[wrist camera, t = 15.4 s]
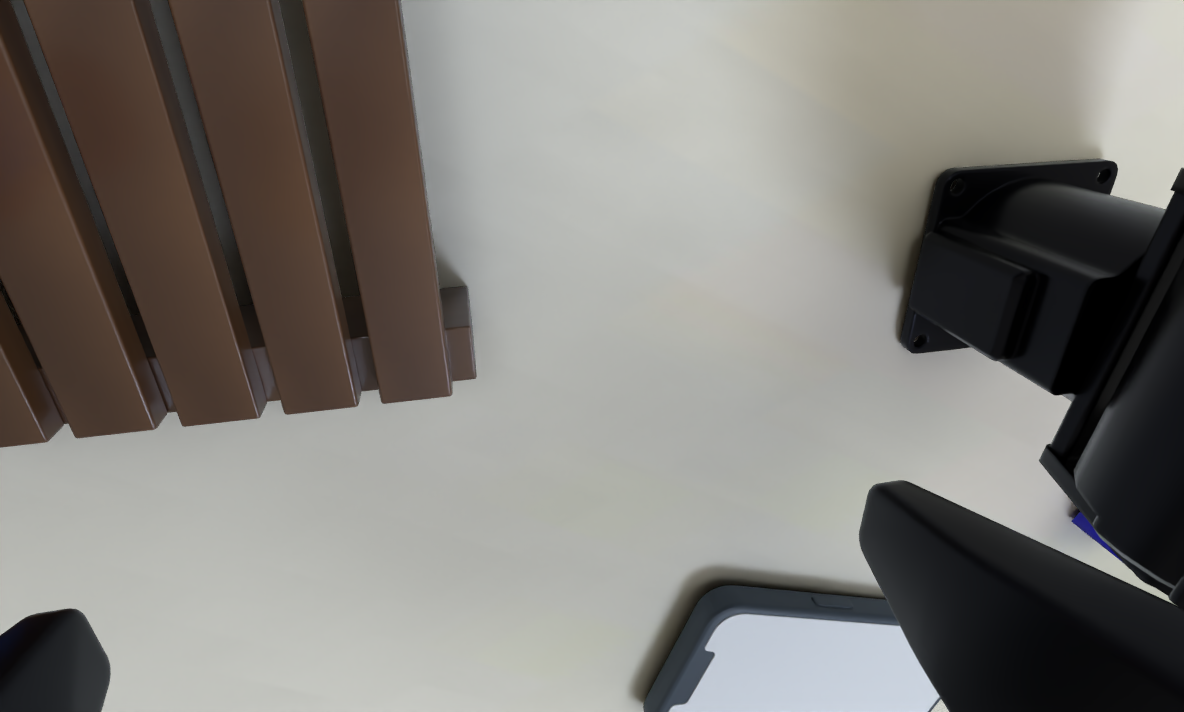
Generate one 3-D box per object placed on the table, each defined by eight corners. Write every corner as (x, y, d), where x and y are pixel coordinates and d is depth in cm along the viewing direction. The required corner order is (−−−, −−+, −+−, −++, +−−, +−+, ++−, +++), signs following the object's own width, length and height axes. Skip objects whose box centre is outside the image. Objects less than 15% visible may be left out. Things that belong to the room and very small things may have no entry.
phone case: (978, 600, 32) (705, 572, 27) (1002, 626, 31) (719, 603, 26) (890, 715, 36) (631, 711, 30) (908, 743, 34) (640, 744, 29)
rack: (405, -261, 14) (378, -437, 8) (472, 333, 20) (481, 442, 15) (-644, -316, 11) (-1668, -634, 6) (-173, 396, 17) (-442, 558, 12)
